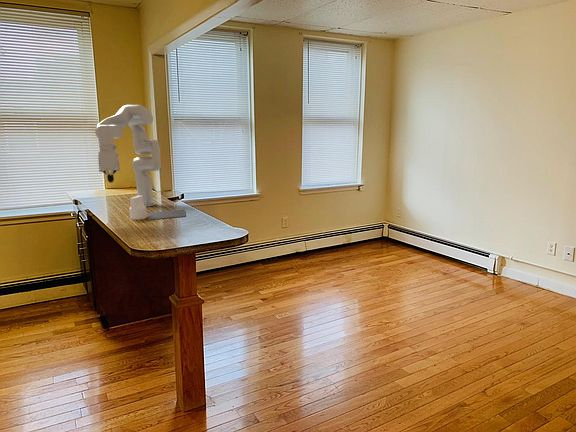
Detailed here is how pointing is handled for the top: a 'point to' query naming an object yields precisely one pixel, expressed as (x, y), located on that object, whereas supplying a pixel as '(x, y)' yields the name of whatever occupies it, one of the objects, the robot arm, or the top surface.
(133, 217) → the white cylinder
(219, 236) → the top surface
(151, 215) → the mat
